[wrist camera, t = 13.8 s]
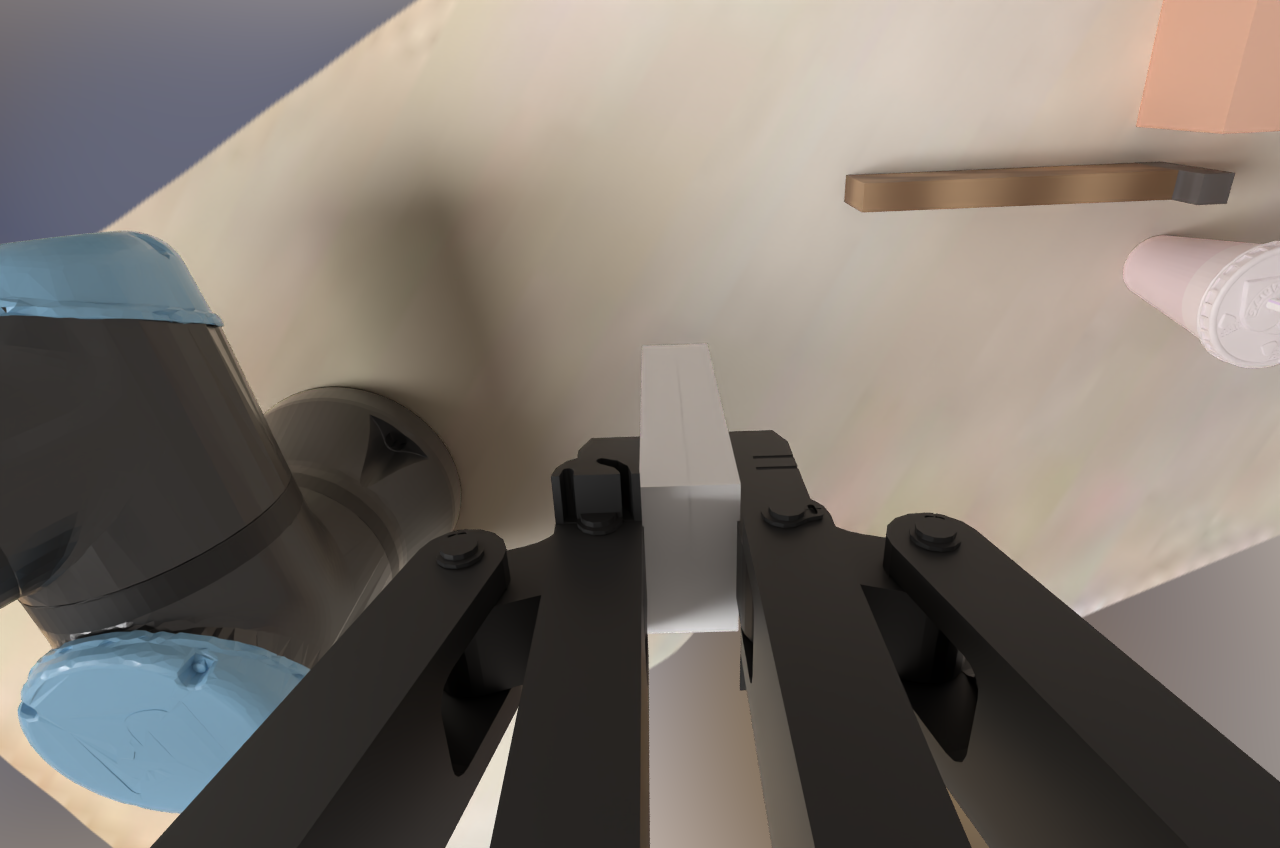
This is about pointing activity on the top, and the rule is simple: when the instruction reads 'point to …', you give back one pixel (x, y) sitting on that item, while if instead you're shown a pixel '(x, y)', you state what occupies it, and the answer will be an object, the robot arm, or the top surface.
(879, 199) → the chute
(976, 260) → the top surface
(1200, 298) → the smoothie
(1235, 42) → the block
